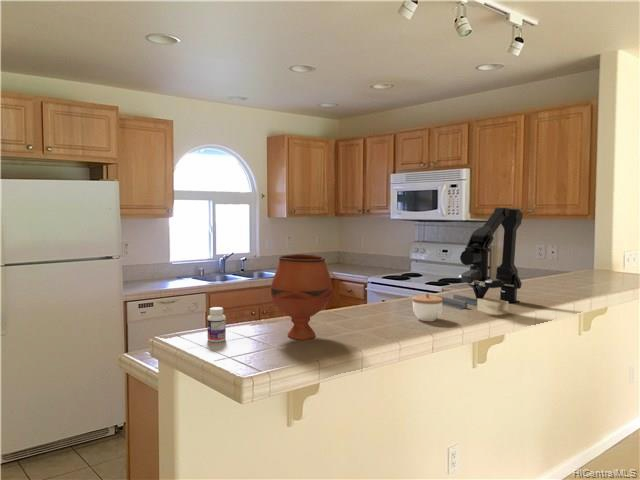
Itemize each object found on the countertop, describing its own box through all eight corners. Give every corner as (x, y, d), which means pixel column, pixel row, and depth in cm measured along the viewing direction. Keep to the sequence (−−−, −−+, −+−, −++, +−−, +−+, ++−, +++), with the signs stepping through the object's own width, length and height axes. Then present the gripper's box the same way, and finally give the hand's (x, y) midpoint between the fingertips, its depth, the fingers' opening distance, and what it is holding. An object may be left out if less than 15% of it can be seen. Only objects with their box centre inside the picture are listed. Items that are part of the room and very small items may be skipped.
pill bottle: (208, 337, 157) (208, 306, 156) (226, 337, 157) (226, 306, 156) (206, 342, 151) (206, 310, 151) (224, 342, 152) (224, 310, 151)
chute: (460, 299, 224) (460, 293, 224) (487, 305, 210) (488, 299, 210) (432, 302, 217) (432, 296, 217) (459, 309, 203) (459, 303, 203)
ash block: (488, 309, 205) (488, 297, 204) (507, 314, 196) (508, 301, 196) (477, 311, 202) (477, 298, 201) (496, 316, 193) (497, 302, 193)
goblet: (282, 347, 147) (283, 260, 146) (262, 331, 165) (262, 254, 163) (342, 340, 155) (343, 258, 153) (317, 326, 172) (318, 252, 171)
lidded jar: (424, 323, 178) (425, 297, 177) (405, 317, 187) (406, 292, 186) (448, 320, 183) (449, 294, 182) (429, 314, 192) (429, 290, 191)
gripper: (448, 261, 207) (447, 300, 208) (483, 267, 191) (481, 308, 192) (469, 260, 213) (467, 297, 214) (504, 265, 196) (503, 306, 197)
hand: (479, 302), depth 204 cm, fingers closed
